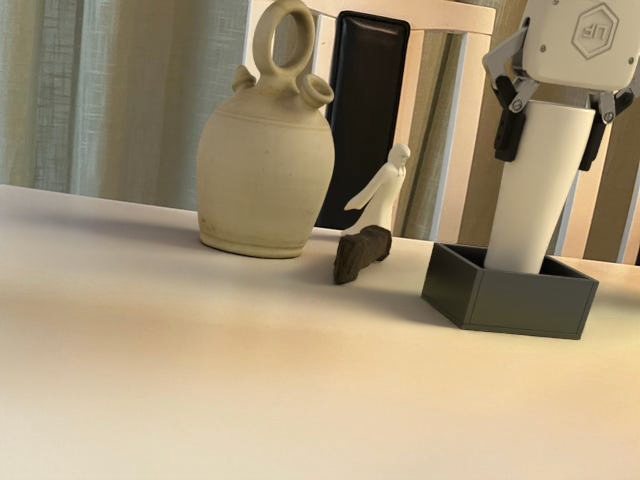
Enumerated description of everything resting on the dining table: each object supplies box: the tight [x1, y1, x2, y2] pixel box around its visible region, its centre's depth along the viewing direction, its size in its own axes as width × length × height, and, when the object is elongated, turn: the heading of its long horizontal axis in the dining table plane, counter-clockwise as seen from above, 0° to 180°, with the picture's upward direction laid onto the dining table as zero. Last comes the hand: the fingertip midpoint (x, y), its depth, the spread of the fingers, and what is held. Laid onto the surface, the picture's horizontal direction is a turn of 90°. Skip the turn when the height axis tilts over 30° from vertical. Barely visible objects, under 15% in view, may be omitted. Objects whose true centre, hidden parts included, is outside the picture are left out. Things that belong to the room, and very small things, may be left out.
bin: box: [420, 241, 600, 341], centre depth 100 cm, size 12×12×6 cm
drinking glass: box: [484, 99, 595, 274], centre depth 95 cm, size 7×7×15 cm
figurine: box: [339, 142, 411, 237], centre depth 127 cm, size 8×8×12 cm
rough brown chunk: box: [332, 225, 393, 284], centre depth 111 cm, size 19×4×5 cm, turn 155°
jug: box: [195, 0, 336, 259], centre depth 112 cm, size 15×16×25 cm
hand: (541, 163), depth 94 cm, fingers closed on drinking glass, 6 cm apart
